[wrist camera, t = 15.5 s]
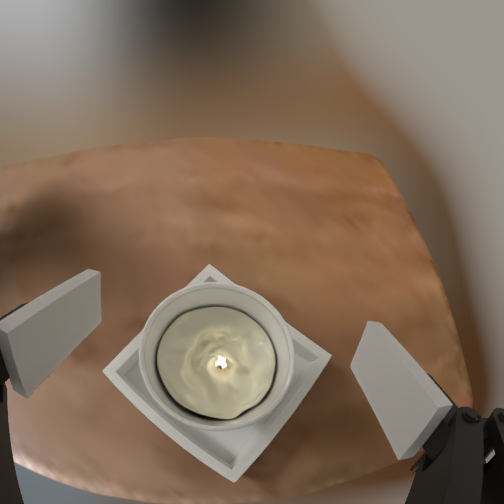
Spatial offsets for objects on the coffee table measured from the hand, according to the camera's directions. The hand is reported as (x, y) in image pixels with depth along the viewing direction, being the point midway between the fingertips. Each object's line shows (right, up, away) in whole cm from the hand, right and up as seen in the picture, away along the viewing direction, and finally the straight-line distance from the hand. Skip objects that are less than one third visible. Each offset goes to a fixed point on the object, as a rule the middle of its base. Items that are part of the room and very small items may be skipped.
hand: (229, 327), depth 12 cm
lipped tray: (-3, -10, +15) cm, 18 cm away
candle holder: (-3, -9, +14) cm, 17 cm away
